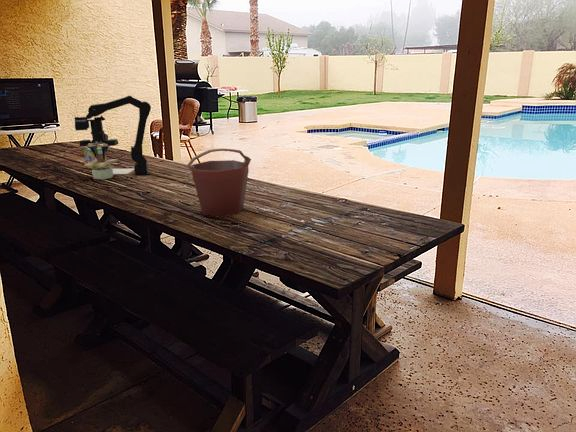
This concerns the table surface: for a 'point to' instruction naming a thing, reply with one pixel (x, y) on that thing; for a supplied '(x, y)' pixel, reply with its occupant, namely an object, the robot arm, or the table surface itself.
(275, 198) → the table surface
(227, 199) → the bucket
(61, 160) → the table surface
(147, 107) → the robot arm
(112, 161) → the beige square tray
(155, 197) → the table surface
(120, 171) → the mat
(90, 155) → the chalk box
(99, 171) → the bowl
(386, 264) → the table surface
